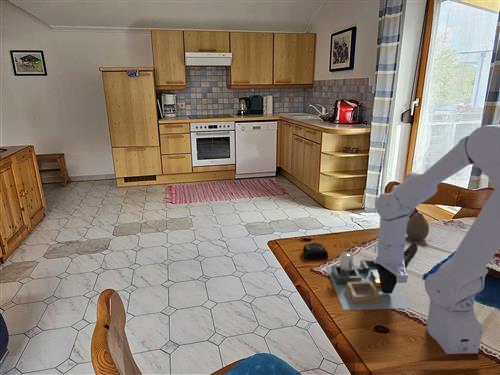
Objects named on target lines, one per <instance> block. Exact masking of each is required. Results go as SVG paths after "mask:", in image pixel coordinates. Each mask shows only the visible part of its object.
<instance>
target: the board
mask: <svg viewBox="0 0 500 375" xmlns="http://www.w3.org/2000/svg"><path fill="white" fill-rule="evenodd" d="M355 267H356V268H358V267H361V266H360V265H355ZM325 268H326V271H327V273H328V275H329V278H330V280H331V283H332V285H333V288H334V290H335V294H336V295H337V297H338V301H339V302H340V306H341V308H342V311H357V310H358V311H360V310H361V311H362V310H363V311H364V310H393V309H394V310H395V309H399V310H400V309H412V307H411V306H410V304H409V303H408V301H407V300H406V299H405V297H404V296H403V294H402V293H401V291H400V290H399V288H398V287H397V286H396V285H395V287H394V290H393V292H392V293H390V294H384V293H383V292H382V290H381V288H376V287H375V288H376V289H377V291H378V293H379V294H380V296H381V299H380V304H353V302H352V300H351V298H350V295H349V293H348V291H347V285H337V284H336V282H335V279H334V277H333V275H332V272H331V271H332V266H325ZM371 270H376V268H375V267H369V275H365V273H359V274H360V276H361V282H364V281H372V283H373V284H374V286H375V282H374V280H373V279H372V277H371V275H370V273H371ZM338 274H339V276H340V273H338ZM352 276H353V274H352ZM355 293H356V295H371V293H370V291H369V290H356V291H355Z"/></svg>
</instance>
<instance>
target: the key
mask: <svg viewBox="0 0 500 375" xmlns="http://www.w3.org/2000/svg"><path fill="white" fill-rule="evenodd" d="M370 275H371V277H372V279H373V280H374V282H375V287H376V288H381V285H380V279H379V274H378V271H377V270H371V273H370Z"/></svg>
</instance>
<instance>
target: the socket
mask: <svg viewBox="0 0 500 375" xmlns="http://www.w3.org/2000/svg"><path fill="white" fill-rule="evenodd" d="M355 266H356V265H355V264H353V269H352V274H353V276H339V274H338V273H340V264H339V265H331V267H332V271H331V272H332V275H333V277H334V279H335V282H336V284H337V285H347V282H361V276H360V274H359V273H365V275H369V267H375V268H376V266H375V263H374V262H373V261H372V258H369V259H360V264H359V266H361V267H358V268H356V267H355ZM376 270H377V268H376Z"/></svg>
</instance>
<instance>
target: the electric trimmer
mask: <svg viewBox="0 0 500 375" xmlns="http://www.w3.org/2000/svg"><path fill="white" fill-rule="evenodd" d="M417 252H418V245H417V243H412V244H410V245H409V246H408V247H407V249H406V248H405V250H404V258H403V259H404V264H405V269H407V268H408V265H409V262H410V261H411V260H412V259H413V258H414V257H415V256H416V253H417Z"/></svg>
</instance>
